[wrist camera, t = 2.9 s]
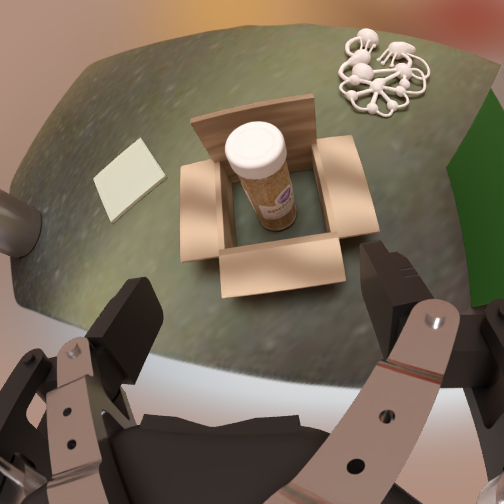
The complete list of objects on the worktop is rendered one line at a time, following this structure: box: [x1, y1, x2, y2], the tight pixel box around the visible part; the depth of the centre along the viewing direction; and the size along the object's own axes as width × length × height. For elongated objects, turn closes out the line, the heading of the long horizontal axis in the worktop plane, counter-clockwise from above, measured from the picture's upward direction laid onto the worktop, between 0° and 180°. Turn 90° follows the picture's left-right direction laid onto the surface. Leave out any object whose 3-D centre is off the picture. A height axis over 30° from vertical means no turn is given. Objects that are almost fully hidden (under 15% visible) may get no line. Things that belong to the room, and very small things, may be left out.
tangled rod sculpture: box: [338, 29, 430, 117], centre depth 35 cm, size 19×14×4 cm
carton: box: [180, 93, 380, 298], centre depth 27 cm, size 15×19×12 cm
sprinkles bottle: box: [225, 121, 297, 231], centre depth 27 cm, size 5×5×14 cm
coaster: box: [93, 138, 167, 223], centre depth 40 cm, size 10×10×1 cm
